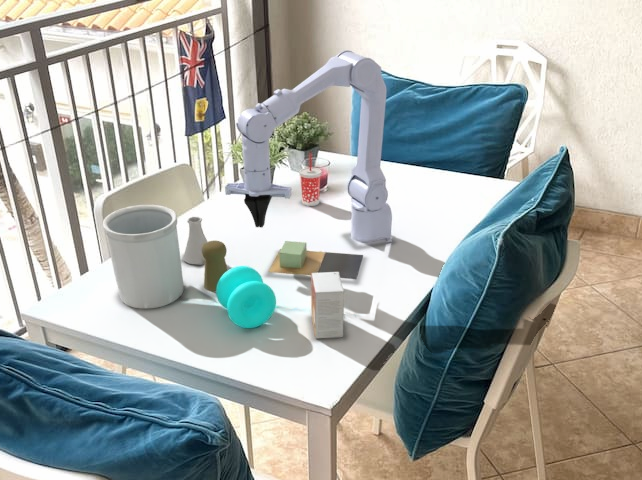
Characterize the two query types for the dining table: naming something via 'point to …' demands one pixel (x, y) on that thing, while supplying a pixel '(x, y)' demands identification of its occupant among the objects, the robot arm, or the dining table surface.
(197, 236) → the flask
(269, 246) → the dining table surface
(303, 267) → the board
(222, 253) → the cork
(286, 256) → the sage block
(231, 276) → the turquoise spool
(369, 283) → the dining table surface
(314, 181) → the beverage cup
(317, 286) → the small box
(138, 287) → the utensil holder
